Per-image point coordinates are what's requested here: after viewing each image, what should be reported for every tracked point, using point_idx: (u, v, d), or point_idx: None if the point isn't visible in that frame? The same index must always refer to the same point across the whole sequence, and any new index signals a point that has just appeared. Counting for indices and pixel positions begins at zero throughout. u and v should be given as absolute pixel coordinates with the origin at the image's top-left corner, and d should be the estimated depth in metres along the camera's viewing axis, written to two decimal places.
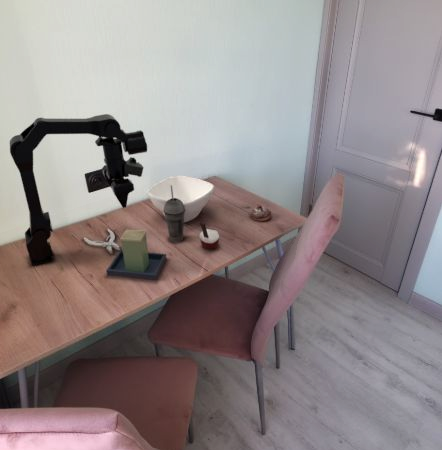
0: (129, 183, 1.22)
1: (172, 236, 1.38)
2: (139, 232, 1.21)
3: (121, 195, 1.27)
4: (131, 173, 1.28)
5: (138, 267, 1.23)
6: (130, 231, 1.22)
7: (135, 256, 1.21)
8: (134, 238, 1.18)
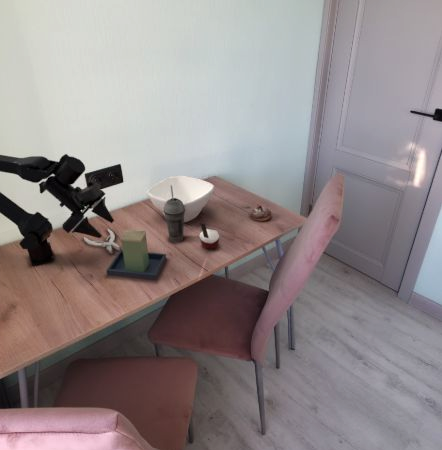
0: (70, 217, 1.10)
1: (172, 236, 1.38)
2: (139, 232, 1.21)
3: (84, 228, 1.15)
4: (84, 201, 1.14)
5: (138, 267, 1.23)
6: (130, 231, 1.22)
7: (135, 256, 1.21)
8: (134, 238, 1.18)
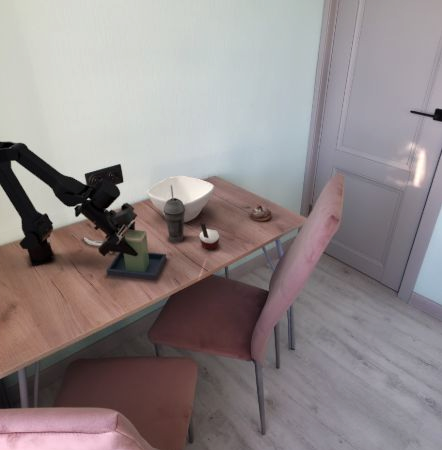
0: (106, 241, 1.12)
1: (172, 236, 1.38)
2: (140, 232, 1.21)
3: (121, 247, 1.19)
4: (119, 224, 1.16)
5: (139, 267, 1.23)
6: (130, 231, 1.22)
7: (135, 256, 1.21)
8: (135, 238, 1.18)
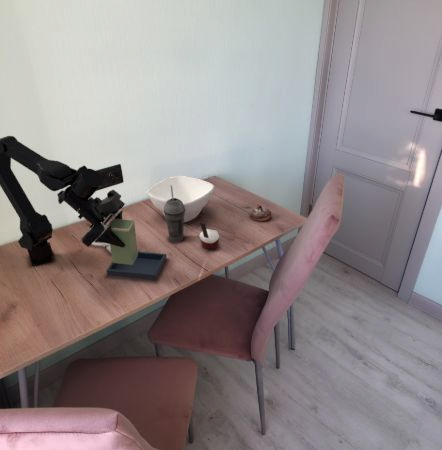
0: (90, 231, 1.04)
1: (172, 236, 1.38)
2: (127, 221, 1.13)
3: (107, 238, 1.10)
4: (104, 213, 1.08)
5: (126, 259, 1.15)
6: (117, 220, 1.13)
7: None
8: (122, 228, 1.10)
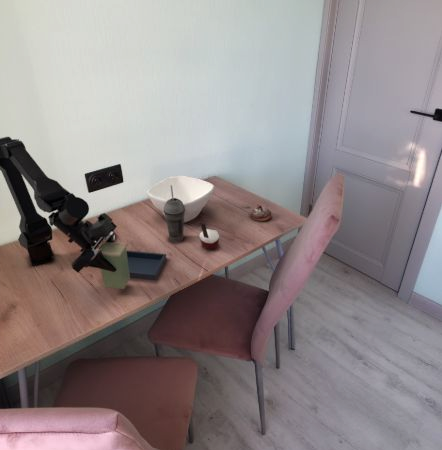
0: (79, 257, 1.01)
1: (172, 236, 1.38)
2: (118, 245, 1.10)
3: (98, 262, 1.08)
4: (95, 237, 1.06)
5: (118, 283, 1.13)
6: (109, 244, 1.11)
7: (113, 272, 1.11)
8: (113, 252, 1.08)
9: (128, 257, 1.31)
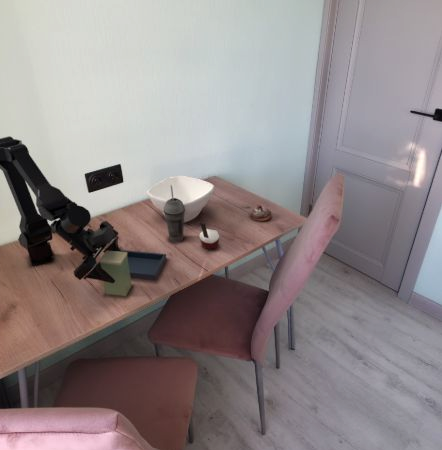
0: (81, 264, 1.02)
1: (172, 236, 1.38)
2: (120, 254, 1.12)
3: (97, 274, 1.08)
4: (96, 245, 1.07)
5: (119, 291, 1.14)
6: (110, 252, 1.13)
7: (115, 280, 1.12)
8: (114, 261, 1.09)
9: (128, 257, 1.31)
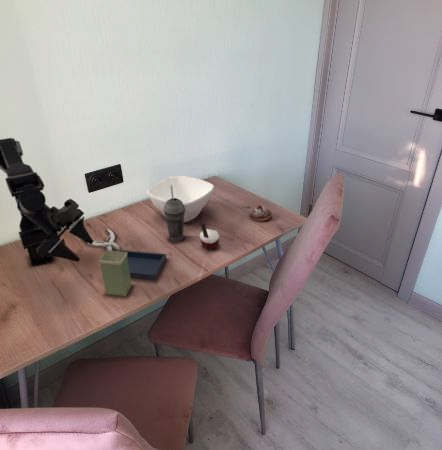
0: (44, 241, 1.01)
1: (172, 236, 1.38)
2: (120, 254, 1.12)
3: (61, 252, 1.06)
4: (60, 222, 1.05)
5: (119, 291, 1.14)
6: (110, 252, 1.13)
7: (115, 280, 1.12)
8: (114, 261, 1.09)
9: (128, 257, 1.31)
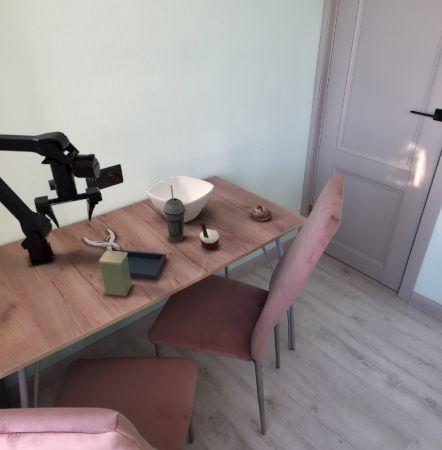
0: (97, 187, 1.24)
1: (172, 236, 1.38)
2: (120, 254, 1.12)
3: None
4: None
5: (119, 291, 1.14)
6: (110, 252, 1.13)
7: (115, 280, 1.12)
8: (114, 261, 1.09)
9: (128, 257, 1.31)
